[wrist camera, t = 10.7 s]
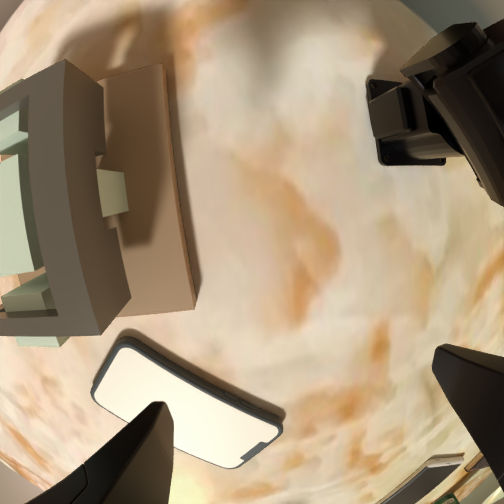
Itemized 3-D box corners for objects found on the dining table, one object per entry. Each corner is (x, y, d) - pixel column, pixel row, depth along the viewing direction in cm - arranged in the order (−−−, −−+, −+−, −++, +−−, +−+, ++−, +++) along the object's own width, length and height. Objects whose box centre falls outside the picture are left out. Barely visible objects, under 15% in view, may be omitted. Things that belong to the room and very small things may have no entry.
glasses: (103, 87, 12) (65, 59, 8) (131, 297, 15) (101, 335, 11) (-4, 135, 12) (-47, 129, 8) (22, 307, 15) (-16, 335, 10)
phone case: (92, 388, 21) (232, 462, 24) (85, 398, 20) (232, 473, 22) (128, 325, 20) (288, 416, 23) (121, 334, 19) (290, 428, 21)
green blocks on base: (166, 71, 16) (135, 16, 9) (196, 300, 19) (180, 361, 12) (12, 127, 15) (-49, 115, 8) (41, 314, 19) (-10, 357, 12)
